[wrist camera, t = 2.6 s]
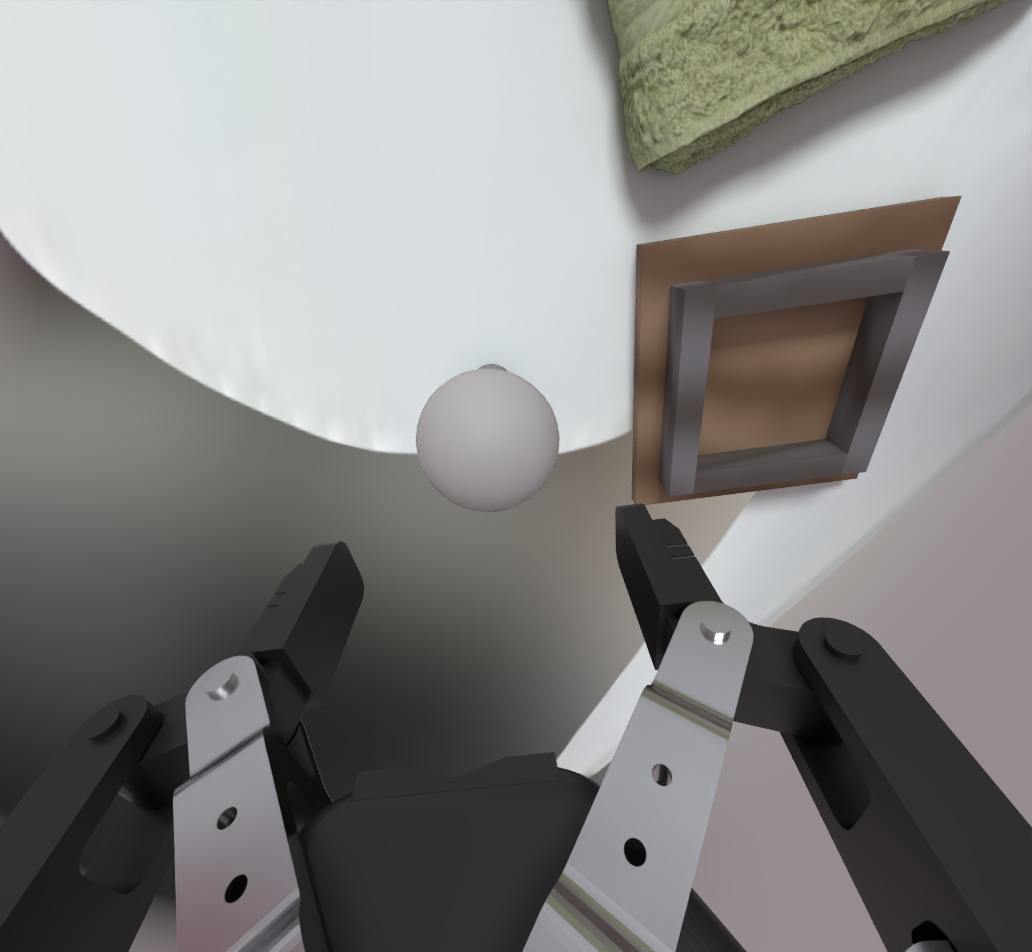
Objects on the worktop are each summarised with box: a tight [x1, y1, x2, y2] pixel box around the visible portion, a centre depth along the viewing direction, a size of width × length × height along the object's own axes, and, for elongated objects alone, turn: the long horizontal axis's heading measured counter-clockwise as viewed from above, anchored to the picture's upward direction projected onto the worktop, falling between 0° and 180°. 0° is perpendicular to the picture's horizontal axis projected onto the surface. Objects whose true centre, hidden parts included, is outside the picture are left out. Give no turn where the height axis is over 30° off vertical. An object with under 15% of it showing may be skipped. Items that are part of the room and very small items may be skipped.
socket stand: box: [632, 196, 961, 505], centre depth 23 cm, size 16×15×3 cm
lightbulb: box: [416, 364, 559, 512], centre depth 20 cm, size 6×6×11 cm
